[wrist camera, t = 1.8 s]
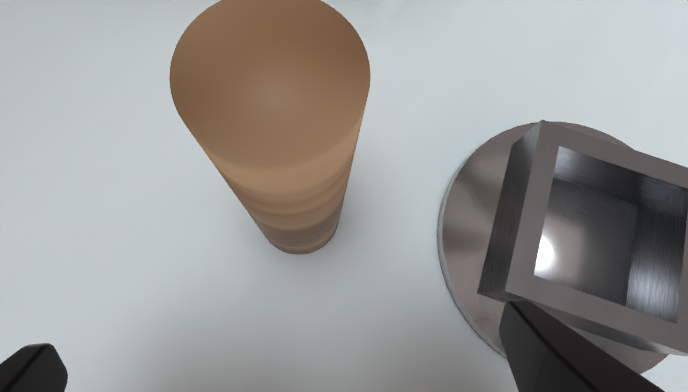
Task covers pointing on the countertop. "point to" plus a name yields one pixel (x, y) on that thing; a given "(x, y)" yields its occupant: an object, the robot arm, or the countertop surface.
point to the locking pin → (276, 109)
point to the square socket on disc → (571, 239)
